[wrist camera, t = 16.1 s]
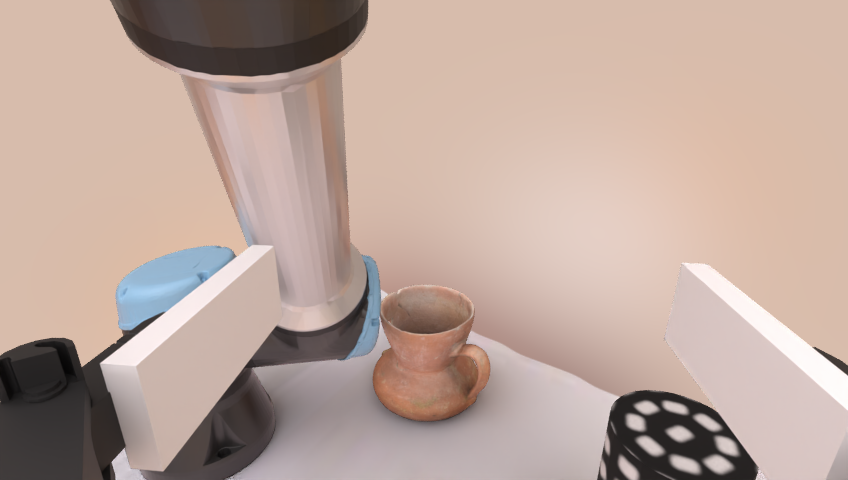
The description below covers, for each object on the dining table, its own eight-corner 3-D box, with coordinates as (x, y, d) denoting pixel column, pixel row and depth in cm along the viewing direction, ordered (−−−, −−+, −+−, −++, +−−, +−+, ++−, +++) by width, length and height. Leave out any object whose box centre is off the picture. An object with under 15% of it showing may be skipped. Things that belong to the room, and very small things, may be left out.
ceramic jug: (345, 392, 62) (340, 303, 57) (416, 347, 72) (416, 268, 67) (445, 465, 51) (450, 363, 46) (512, 400, 61) (522, 310, 56)
